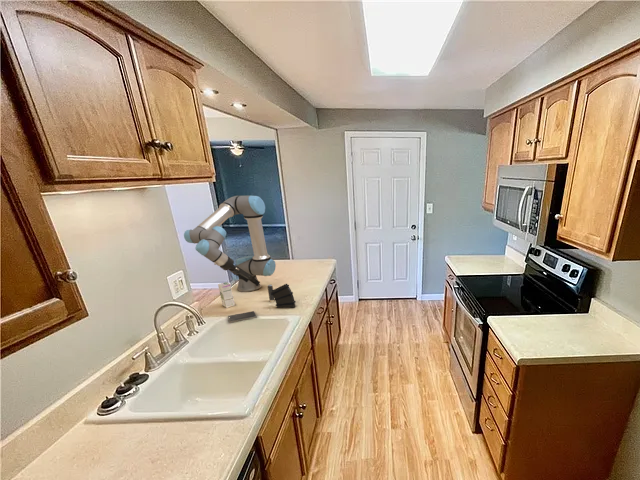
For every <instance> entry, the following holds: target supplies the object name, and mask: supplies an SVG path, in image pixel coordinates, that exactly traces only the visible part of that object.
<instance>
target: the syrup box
mask: <svg viewBox="0 0 640 480" xmlns="http://www.w3.org/2000/svg"><path fill="white" fill-rule="evenodd" d="M217 286H218V290H219V295H220V300H221V304H222V306H223V307H224V308H227V309H228V308H231V307H235V306H236V304H235V298H234V293H233V289H232V285H231V283H230V282H227V281H225V282H221V283H217Z"/></svg>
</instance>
